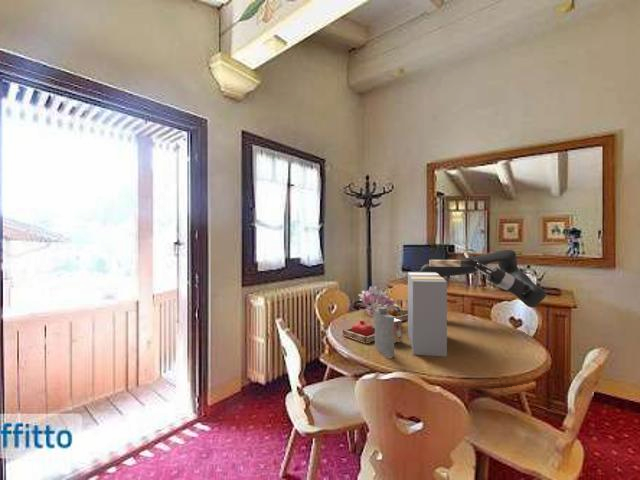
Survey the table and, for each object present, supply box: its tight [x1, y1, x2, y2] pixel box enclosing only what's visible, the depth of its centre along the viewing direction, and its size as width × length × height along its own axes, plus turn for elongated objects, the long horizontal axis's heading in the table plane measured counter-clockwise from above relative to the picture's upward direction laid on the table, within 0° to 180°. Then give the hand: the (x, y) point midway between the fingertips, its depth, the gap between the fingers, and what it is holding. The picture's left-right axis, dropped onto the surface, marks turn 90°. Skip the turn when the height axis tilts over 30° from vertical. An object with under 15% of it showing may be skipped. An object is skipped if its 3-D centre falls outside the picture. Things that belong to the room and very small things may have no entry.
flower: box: [357, 285, 398, 327], centre depth 189 cm, size 20×22×25 cm
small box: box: [394, 318, 403, 344], centre depth 164 cm, size 8×6×10 cm
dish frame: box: [342, 326, 375, 344], centre depth 172 cm, size 17×16×3 cm
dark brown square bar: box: [428, 259, 478, 267], centre depth 164 cm, size 22×3×3 cm, turn 79°
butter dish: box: [351, 319, 375, 337], centre depth 172 cm, size 12×12×8 cm
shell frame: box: [363, 307, 408, 322], centre depth 212 cm, size 26×20×3 cm
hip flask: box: [374, 307, 395, 359], centre depth 150 cm, size 16×4×20 cm, turn 14°
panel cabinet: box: [407, 271, 448, 357], centre depth 161 cm, size 14×32×32 cm, turn 169°
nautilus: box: [377, 303, 402, 317], centre depth 209 cm, size 8×22×15 cm
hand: (467, 260), depth 163 cm, fingers closed on dark brown square bar, 3 cm apart
